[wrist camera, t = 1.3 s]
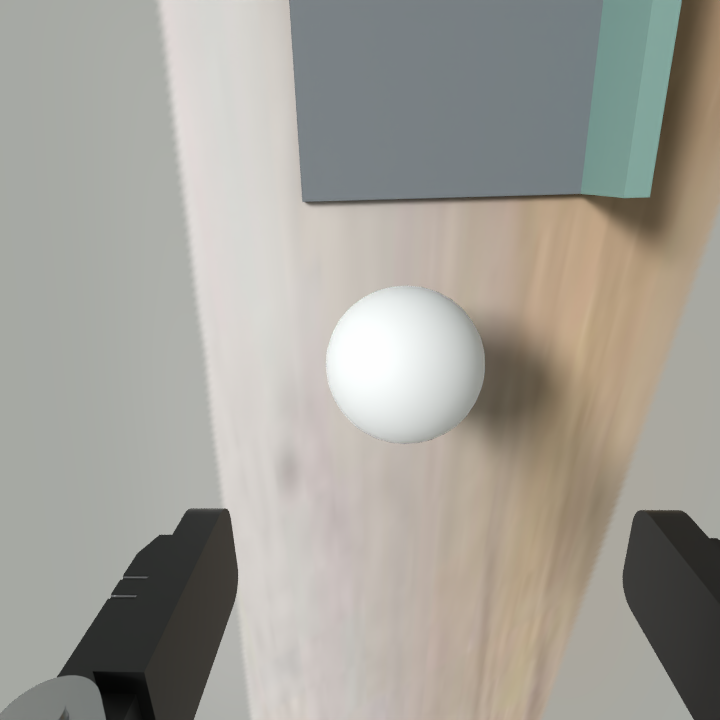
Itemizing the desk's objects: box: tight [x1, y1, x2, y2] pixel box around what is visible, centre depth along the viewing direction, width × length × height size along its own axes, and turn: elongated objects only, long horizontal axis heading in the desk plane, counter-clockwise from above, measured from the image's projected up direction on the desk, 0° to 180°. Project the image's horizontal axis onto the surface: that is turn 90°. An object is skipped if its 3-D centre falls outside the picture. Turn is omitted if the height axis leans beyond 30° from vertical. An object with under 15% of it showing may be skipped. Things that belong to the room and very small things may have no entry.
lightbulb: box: [326, 286, 485, 444], centre depth 22 cm, size 6×6×11 cm
